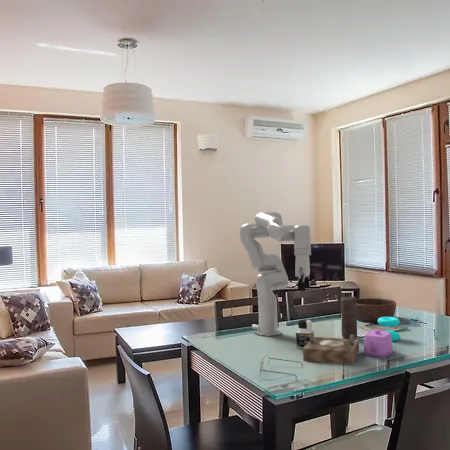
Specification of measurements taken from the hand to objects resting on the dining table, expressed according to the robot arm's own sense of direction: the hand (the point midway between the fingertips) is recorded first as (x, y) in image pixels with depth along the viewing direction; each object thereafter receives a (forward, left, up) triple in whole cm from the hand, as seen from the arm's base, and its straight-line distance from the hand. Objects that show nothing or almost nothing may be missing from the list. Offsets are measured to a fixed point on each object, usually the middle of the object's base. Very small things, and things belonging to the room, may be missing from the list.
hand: (304, 289), depth 215 cm
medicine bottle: (0, 0, -26) cm, 26 cm away
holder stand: (+14, -12, -26) cm, 32 cm away
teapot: (+32, -4, -27) cm, 42 cm away
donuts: (+35, +23, -27) cm, 49 cm away
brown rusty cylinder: (+17, +20, -26) cm, 37 cm away
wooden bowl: (+24, +69, -27) cm, 78 cm away
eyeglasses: (-1, -39, -27) cm, 47 cm away
